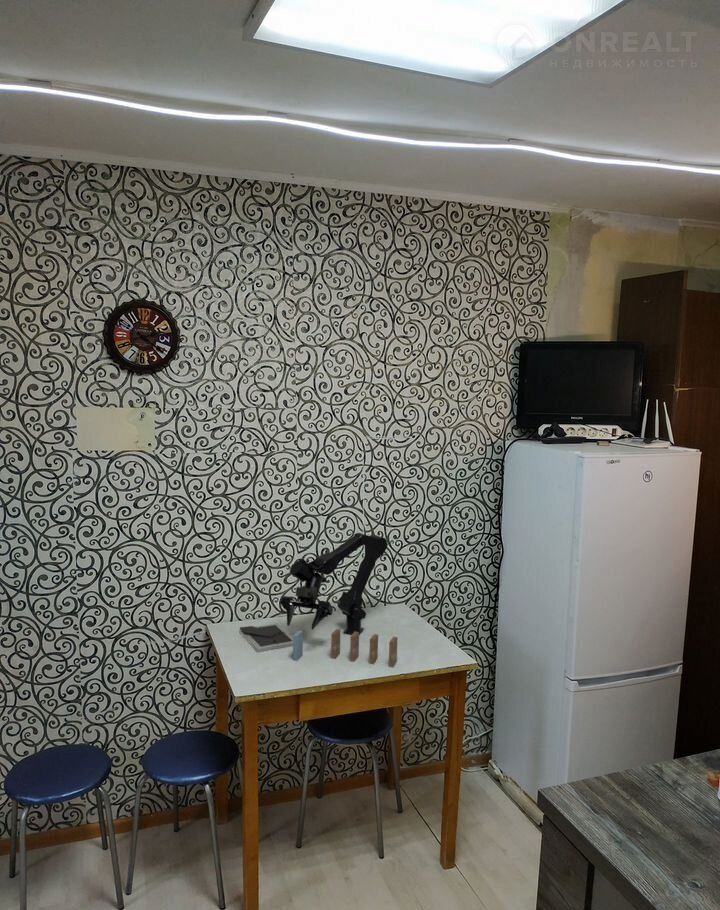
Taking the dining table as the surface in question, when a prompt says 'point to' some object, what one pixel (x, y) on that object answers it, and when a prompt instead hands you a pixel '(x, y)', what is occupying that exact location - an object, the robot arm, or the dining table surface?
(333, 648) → the domino
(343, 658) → the dining table surface
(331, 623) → the dining table surface
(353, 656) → the domino
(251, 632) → the picture frame
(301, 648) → the domino
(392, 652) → the domino
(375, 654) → the domino
